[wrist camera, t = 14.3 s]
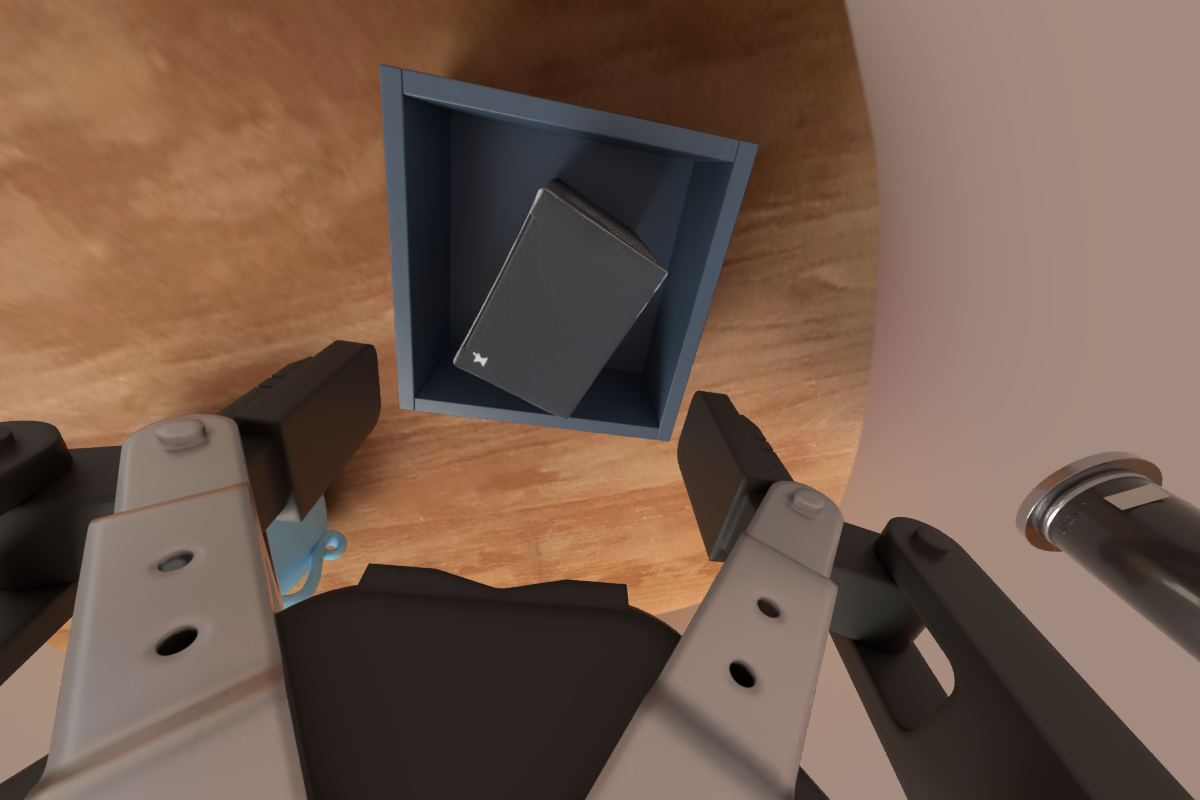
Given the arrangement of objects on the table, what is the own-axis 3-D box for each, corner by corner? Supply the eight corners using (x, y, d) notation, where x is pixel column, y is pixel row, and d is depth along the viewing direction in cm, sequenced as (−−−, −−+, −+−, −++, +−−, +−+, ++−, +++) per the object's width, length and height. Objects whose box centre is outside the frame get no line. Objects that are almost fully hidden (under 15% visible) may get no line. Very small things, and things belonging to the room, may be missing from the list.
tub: (709, 148, 24) (759, 144, 17) (650, 380, 31) (669, 442, 24) (438, 91, 22) (378, 63, 16) (439, 352, 29) (399, 409, 22)
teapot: (289, 400, 31) (145, 504, 21) (391, 541, 37) (317, 673, 27) (143, 446, 32) (-58, 564, 22) (264, 574, 39) (150, 712, 29)
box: (570, 338, 28) (566, 425, 19) (491, 293, 27) (445, 364, 17) (639, 231, 25) (673, 273, 16) (554, 172, 24) (539, 181, 14)
